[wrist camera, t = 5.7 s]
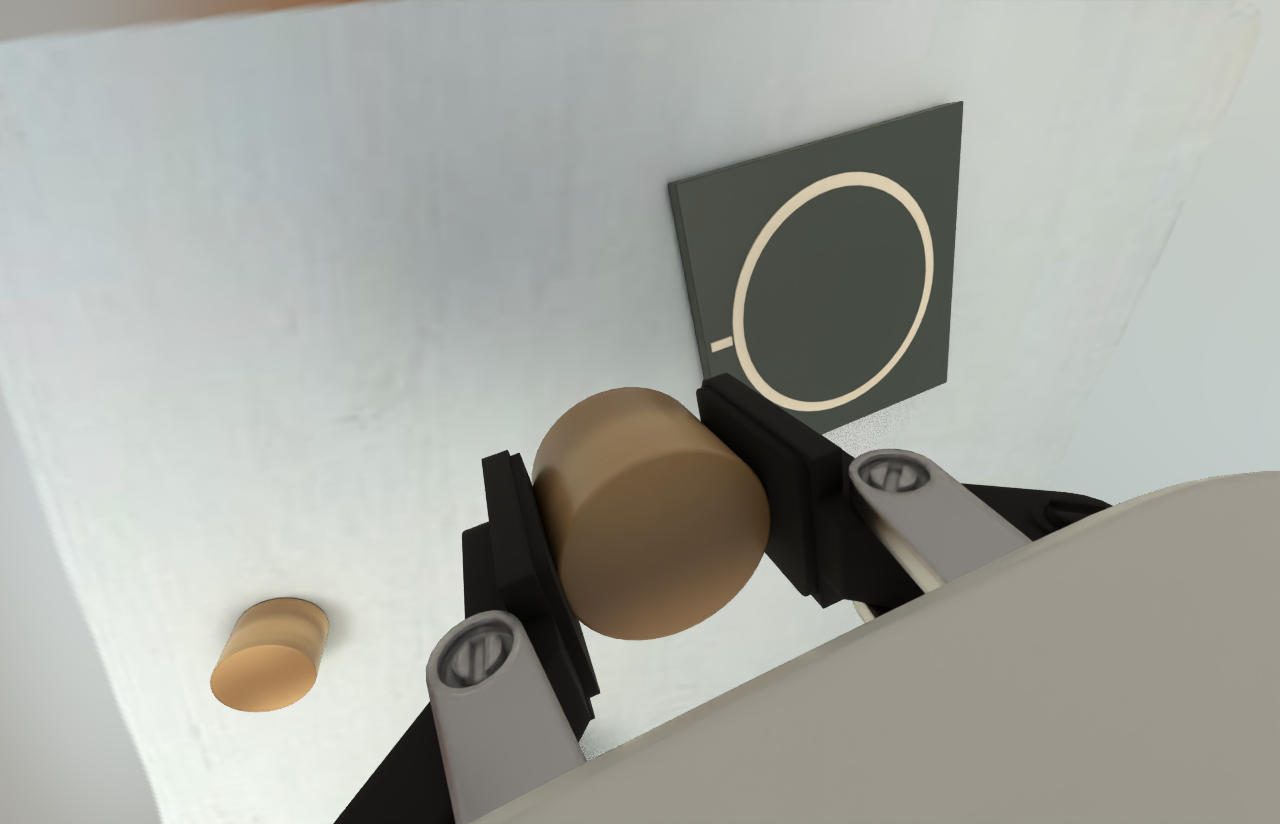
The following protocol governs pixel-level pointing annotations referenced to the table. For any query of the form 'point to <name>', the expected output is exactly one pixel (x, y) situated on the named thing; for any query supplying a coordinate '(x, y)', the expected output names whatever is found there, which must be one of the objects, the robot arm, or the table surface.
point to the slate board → (828, 266)
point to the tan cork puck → (646, 514)
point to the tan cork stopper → (271, 656)
